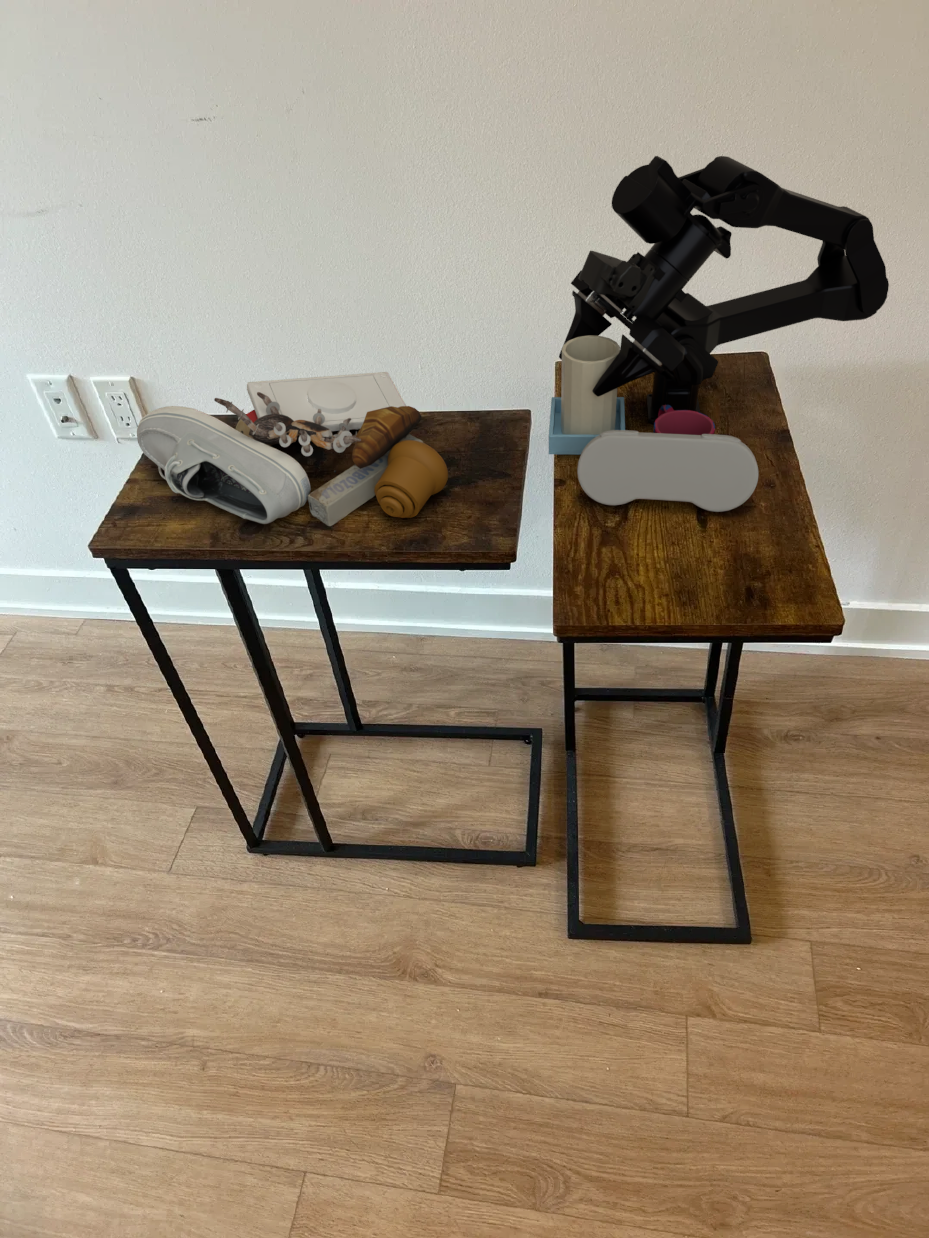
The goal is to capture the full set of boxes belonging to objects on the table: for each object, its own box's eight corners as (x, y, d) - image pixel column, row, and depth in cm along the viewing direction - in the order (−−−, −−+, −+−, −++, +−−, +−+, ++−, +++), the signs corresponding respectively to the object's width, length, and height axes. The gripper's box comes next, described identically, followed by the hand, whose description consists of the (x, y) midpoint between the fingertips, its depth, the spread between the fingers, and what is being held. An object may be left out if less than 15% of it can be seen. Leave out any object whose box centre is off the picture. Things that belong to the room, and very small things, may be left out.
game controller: (751, 508, 99) (762, 434, 95) (753, 514, 97) (764, 440, 93) (577, 497, 102) (580, 426, 99) (575, 503, 100) (579, 431, 97)
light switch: (246, 375, 114) (388, 365, 121) (246, 388, 115) (387, 378, 122) (265, 424, 108) (414, 410, 115) (265, 438, 109) (412, 423, 116)
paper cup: (605, 412, 114) (609, 331, 106) (622, 439, 109) (627, 357, 102) (555, 420, 113) (555, 340, 106) (570, 448, 109) (571, 366, 101)
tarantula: (394, 426, 110) (385, 465, 112) (266, 388, 112) (259, 426, 114) (350, 441, 95) (341, 485, 97) (203, 396, 97) (197, 440, 99)
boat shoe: (156, 444, 113) (105, 474, 107) (150, 383, 107) (96, 410, 101) (313, 527, 107) (268, 563, 101) (317, 467, 101) (269, 501, 95)
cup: (656, 495, 102) (662, 444, 97) (637, 447, 109) (641, 398, 104) (714, 489, 102) (722, 438, 97) (691, 441, 109) (698, 392, 104)
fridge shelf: (551, 414, 115) (551, 397, 114) (622, 414, 114) (624, 396, 113) (548, 454, 109) (548, 436, 107) (624, 455, 108) (625, 436, 106)
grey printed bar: (296, 489, 101) (325, 507, 99) (395, 424, 109) (424, 440, 107) (300, 512, 104) (329, 531, 101) (397, 448, 112) (426, 464, 109)
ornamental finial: (384, 435, 102) (436, 436, 98) (410, 483, 107) (460, 485, 103) (349, 483, 98) (402, 486, 94) (378, 530, 104) (429, 535, 99)
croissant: (405, 436, 111) (379, 404, 110) (439, 408, 106) (412, 375, 105) (347, 485, 101) (319, 451, 100) (382, 458, 97) (352, 421, 95)
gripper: (588, 197, 101) (502, 310, 107) (670, 255, 89) (568, 379, 94) (644, 252, 109) (561, 355, 114) (728, 313, 96) (629, 426, 101)
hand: (577, 376), depth 105 cm, fingers open, 9 cm apart
